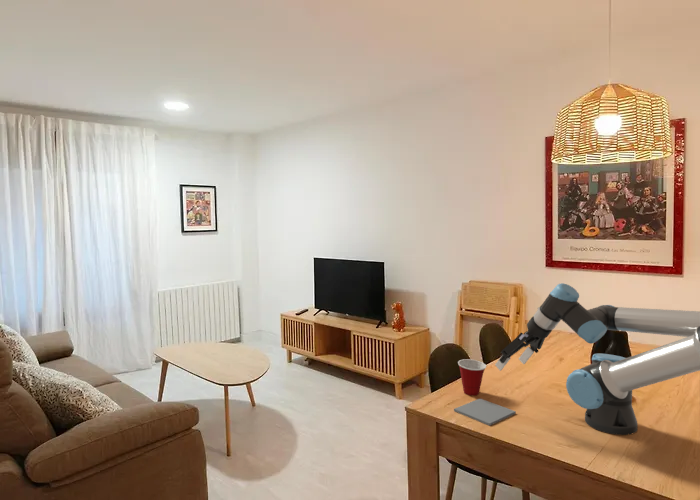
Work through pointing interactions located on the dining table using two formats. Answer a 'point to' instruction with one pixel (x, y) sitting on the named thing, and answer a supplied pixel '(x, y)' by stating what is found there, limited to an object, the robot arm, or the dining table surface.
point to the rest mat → (484, 411)
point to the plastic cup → (471, 375)
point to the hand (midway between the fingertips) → (509, 364)
